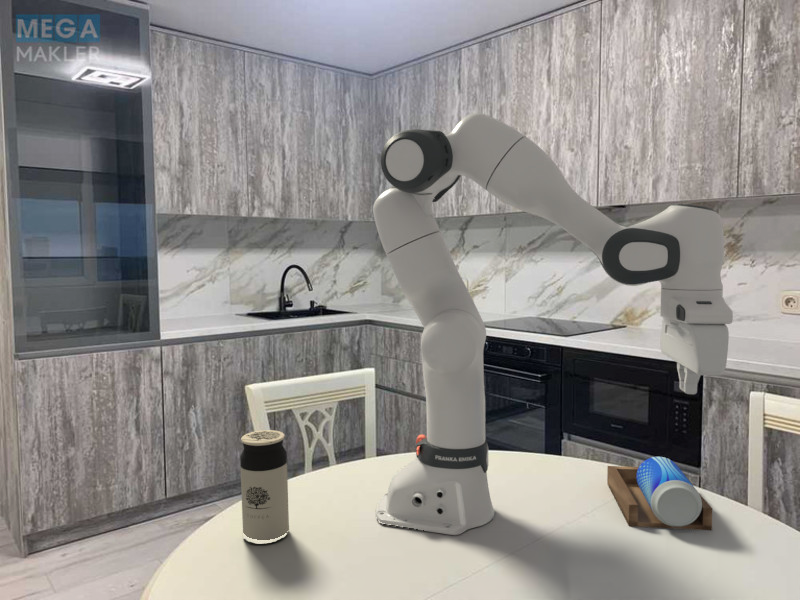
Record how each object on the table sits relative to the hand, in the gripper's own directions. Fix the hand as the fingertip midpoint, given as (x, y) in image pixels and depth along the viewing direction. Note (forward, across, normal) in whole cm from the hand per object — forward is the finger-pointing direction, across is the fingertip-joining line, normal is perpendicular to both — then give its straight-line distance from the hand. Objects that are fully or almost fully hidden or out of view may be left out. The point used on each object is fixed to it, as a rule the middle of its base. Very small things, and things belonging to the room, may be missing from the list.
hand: (688, 392), depth 95 cm
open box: (+26, -17, 0) cm, 31 cm away
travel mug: (+27, +3, -71) cm, 76 cm away
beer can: (+22, -5, +1) cm, 22 cm away
